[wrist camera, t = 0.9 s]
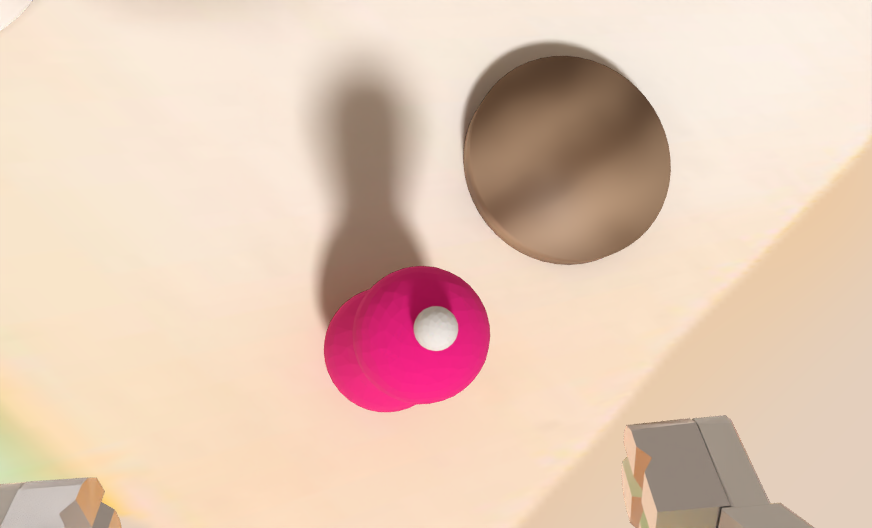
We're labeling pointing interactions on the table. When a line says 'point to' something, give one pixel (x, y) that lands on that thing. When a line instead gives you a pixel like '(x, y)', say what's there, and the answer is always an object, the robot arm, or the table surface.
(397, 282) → the pepper mill
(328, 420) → the table surface
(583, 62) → the walnut board
